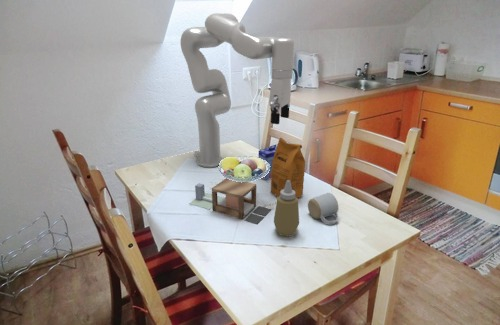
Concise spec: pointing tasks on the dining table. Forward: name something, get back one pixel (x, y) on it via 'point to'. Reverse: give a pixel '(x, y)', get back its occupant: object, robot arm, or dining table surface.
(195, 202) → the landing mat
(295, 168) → the coffee package
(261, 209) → the pit pads
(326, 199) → the ceramic mug
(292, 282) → the dining table surface
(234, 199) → the block
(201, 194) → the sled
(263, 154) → the ink cartridge box
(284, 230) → the squeeze bottle
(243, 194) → the tunnel
